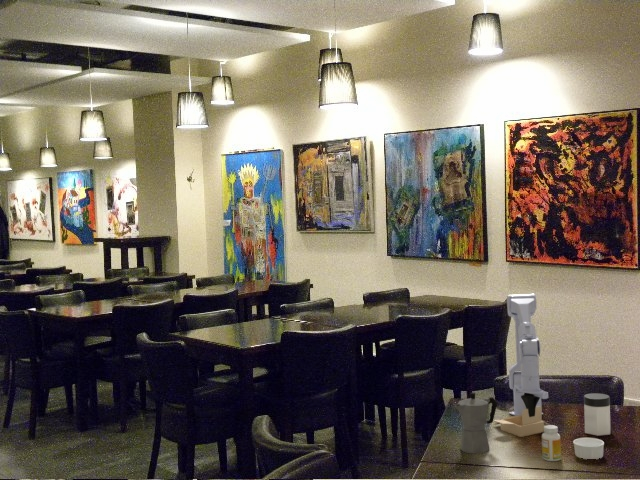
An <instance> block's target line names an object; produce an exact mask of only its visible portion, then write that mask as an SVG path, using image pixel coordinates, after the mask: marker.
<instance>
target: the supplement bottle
mask: <svg viewBox="0 0 640 480" xmlns="http://www.w3.org/2000/svg"><path fill="white" fill-rule="evenodd" d="M558 429H559V427H558V426H557V425H553V424H549V425H544V432H542V434H541V451H542V453H541V455H542V457H541V458H542V459H543V460H545V461H547V462H558V461H561V459H562V446H561V444H562V443H561V435H560V433H558V432H559V430H558Z"/></svg>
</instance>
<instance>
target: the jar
mask: <svg viewBox="0 0 640 480" xmlns="http://www.w3.org/2000/svg"><path fill="white" fill-rule="evenodd" d="M583 404H584V405H583V406H584V409H583V410H584V411H583V412H584V413H583V414H584V433H585V434H588V435H592V436H597V437H598V436H608V435H611V396H610V395H608V394H605V393H598V392H597V393H596V392H595V393H593V392H592V393H586V394H584V395H583Z"/></svg>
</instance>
